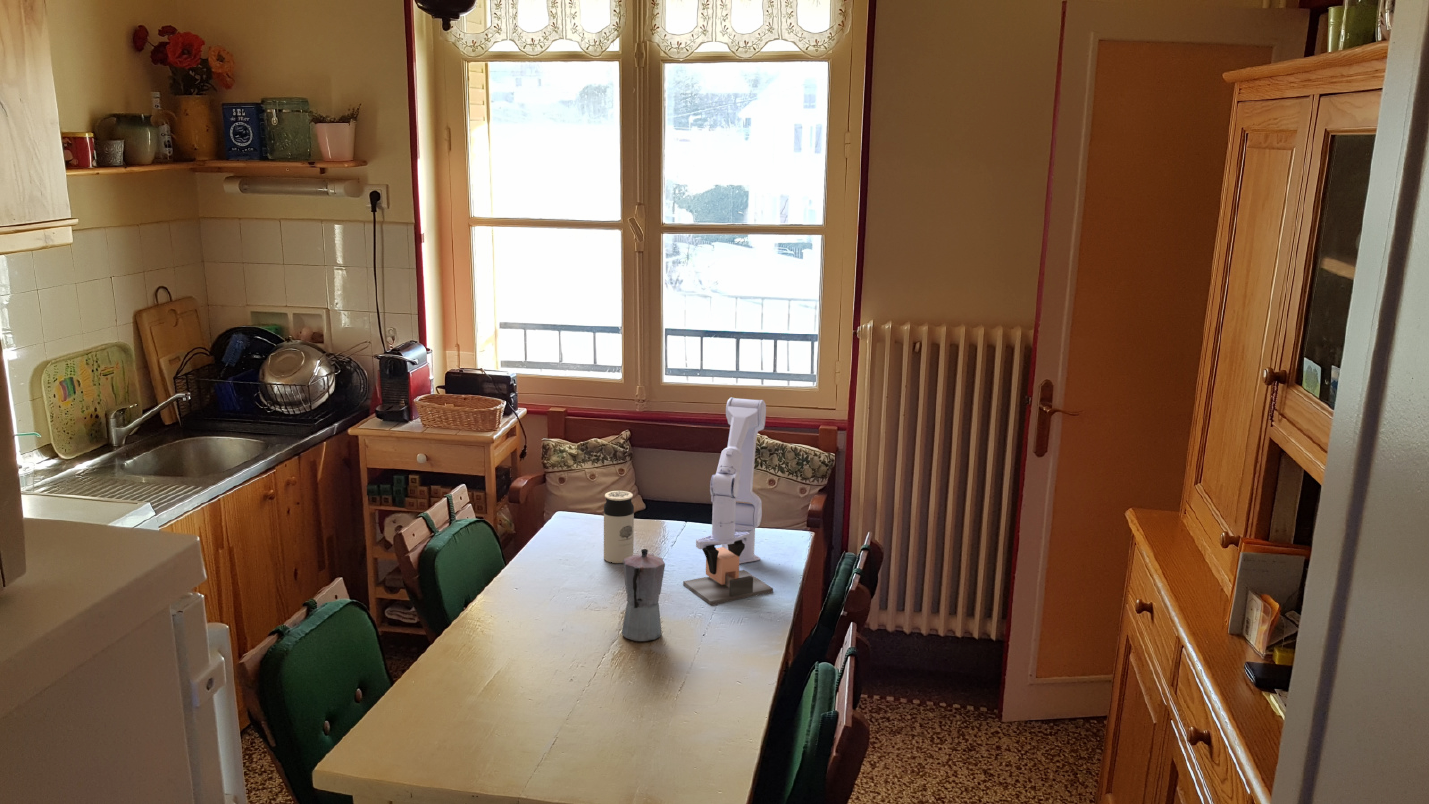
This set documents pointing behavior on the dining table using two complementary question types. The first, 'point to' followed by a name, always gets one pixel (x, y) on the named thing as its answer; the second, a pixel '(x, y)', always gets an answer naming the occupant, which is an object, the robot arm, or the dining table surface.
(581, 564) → the dining table surface
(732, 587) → the rail board
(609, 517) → the travel mug
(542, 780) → the dining table surface
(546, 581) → the dining table surface
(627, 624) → the moka pot
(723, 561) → the slotted block
